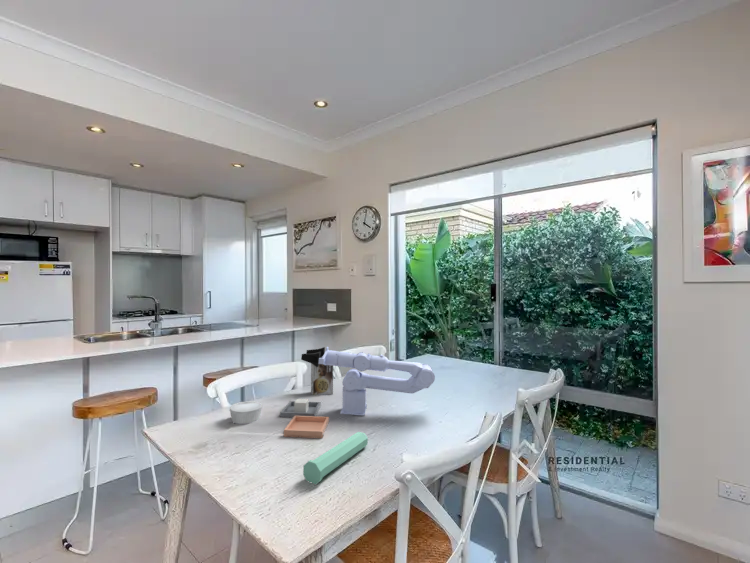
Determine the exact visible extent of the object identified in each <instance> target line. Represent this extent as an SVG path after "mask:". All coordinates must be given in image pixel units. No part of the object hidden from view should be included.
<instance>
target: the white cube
mask: <svg viewBox="0 0 750 563" xmlns="http://www.w3.org/2000/svg"><path fill="white" fill-rule="evenodd" d="M294 401H295V402H294V412H303V413H306V412H307V411H308V408H309V402H310V401H309V398H297V399H296V400H294Z"/></svg>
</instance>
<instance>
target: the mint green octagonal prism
mask: <svg viewBox="0 0 750 563" xmlns="http://www.w3.org/2000/svg"><path fill="white" fill-rule="evenodd" d="M368 438H369V437H368V435H367V434H366V433H365V432H361V431H357V432H356V433H354V434H353V435H351V436H349V437H348V438H346V439H344V440H343V441H341V442H340V443H338V444H337V445H335V446H333V447H332V448H330V449H329V450H328V451H327V450H326V452H324V453H322V454H321V455H319V456H318V457H316V458H314V459H313V460H312V459H309V460H308V461H307V462H306V463H305V464H304V465H303V469H302V474H303V477H304V479H305V481H306V482H307V481H309V482H308V483H310V482H312V483H311V484H313V483H314V484H313V485H315V484H316V485H317V484H319V482H321V481H322V480H323V478H325V477H326V476H327V475H329V474H330V473H331V472H332V471H335V469H337V468H338V467H340V466H341V465H343V463H345V462H346V461H348V460H349V459H350V458H352V457H353V456H354V455H356V454H357V453H359V452H360V451H361V450H363V449H364V448H366V447H367V445H368V441H369V440H368Z"/></svg>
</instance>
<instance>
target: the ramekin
mask: <svg viewBox="0 0 750 563" xmlns="http://www.w3.org/2000/svg"><path fill="white" fill-rule="evenodd" d="M262 409H263V404H262V403H261V402H259V401H254V400H252V401H249V400H248V401H240V402H236V403H234V404H231V405H230V406H229V412H230V419H231V422H232V423H233V424H234V425H235V424H237V425H245V424H246V425H247V424H252V423H255V422H257V421H259V419H260V418H261V414H262Z"/></svg>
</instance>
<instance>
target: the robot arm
mask: <svg viewBox="0 0 750 563" xmlns="http://www.w3.org/2000/svg"><path fill="white" fill-rule="evenodd" d="M329 348H330V347H329V346H326V347H325V346H323V347H321V348H314V349H313V348H312V349H306V353H302V354H301V361H304V362H306V363H308V364H310V365H311V364H313V365H315V366H316V367H318V366H319V364H323V365H331V366H333V367H342V368H351V369H348V370H347V372H346V373H345V376H344V377H343V378H342V386H343V387H342V397H341V399H342V400H341V402H342V404H341V405H342V407H341V409H340V411H339V412H340V413H339V414H340V415H352V416H366V411H367V409H368V408H367V406H368V404H367V389H370V390H378V391H386V392H395V393H404V394H415V393H417V392H419V391H422V390H424V389H429V388H430V386H432V385H433V384H434V382H435V380H436V376H435V373H434V372H433V369H432V368H433V367H431V366H430V365H429V364H427V363H422V362H416V361H415V362H413V361H404V360H402V361H401V360H389V358H388V357H387V356H384V354H379V355H376V354H375V355H374V354H371V353H365V352H363V351H362V352H358V353H354V352H349V351H348V352H347V351H338V350H331V349H329ZM367 370H369V371H373V372H374V371H376V372H383V373H384V372H386V371H387V370H393V371H398V372H406V373H409V374H410V375H411V376H410V377H409V378H407V379H406V378H398V377H389V376H383V375H373V374H368V373H366V372H364V371H367Z"/></svg>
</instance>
